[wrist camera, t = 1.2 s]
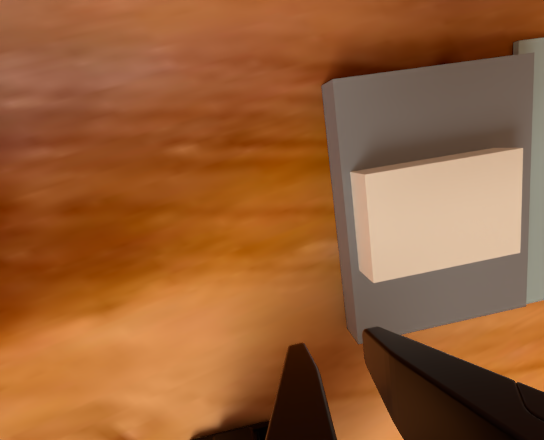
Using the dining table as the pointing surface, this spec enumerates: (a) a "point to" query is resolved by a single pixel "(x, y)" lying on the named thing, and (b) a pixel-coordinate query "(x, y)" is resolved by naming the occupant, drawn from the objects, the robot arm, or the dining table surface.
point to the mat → (536, 173)
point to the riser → (418, 146)
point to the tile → (437, 212)
